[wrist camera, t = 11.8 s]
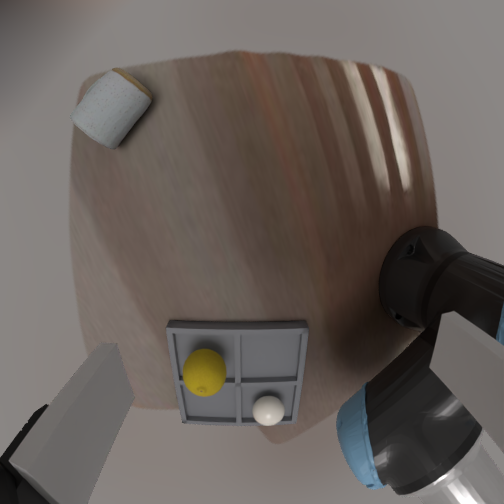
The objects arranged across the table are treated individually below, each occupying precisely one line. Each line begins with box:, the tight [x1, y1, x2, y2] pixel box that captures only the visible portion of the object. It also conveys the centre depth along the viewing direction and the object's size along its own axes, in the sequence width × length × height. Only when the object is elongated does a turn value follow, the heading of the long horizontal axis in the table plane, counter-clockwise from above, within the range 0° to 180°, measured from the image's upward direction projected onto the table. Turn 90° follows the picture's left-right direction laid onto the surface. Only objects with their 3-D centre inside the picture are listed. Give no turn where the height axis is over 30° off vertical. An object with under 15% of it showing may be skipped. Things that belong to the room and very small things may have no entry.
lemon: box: [183, 349, 227, 397], centre depth 33 cm, size 6×6×8 cm
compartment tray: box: [166, 320, 309, 426], centre depth 38 cm, size 18×18×2 cm
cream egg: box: [252, 396, 285, 426], centre depth 37 cm, size 5×5×5 cm
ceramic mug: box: [70, 68, 152, 149], centre depth 26 cm, size 11×8×8 cm
